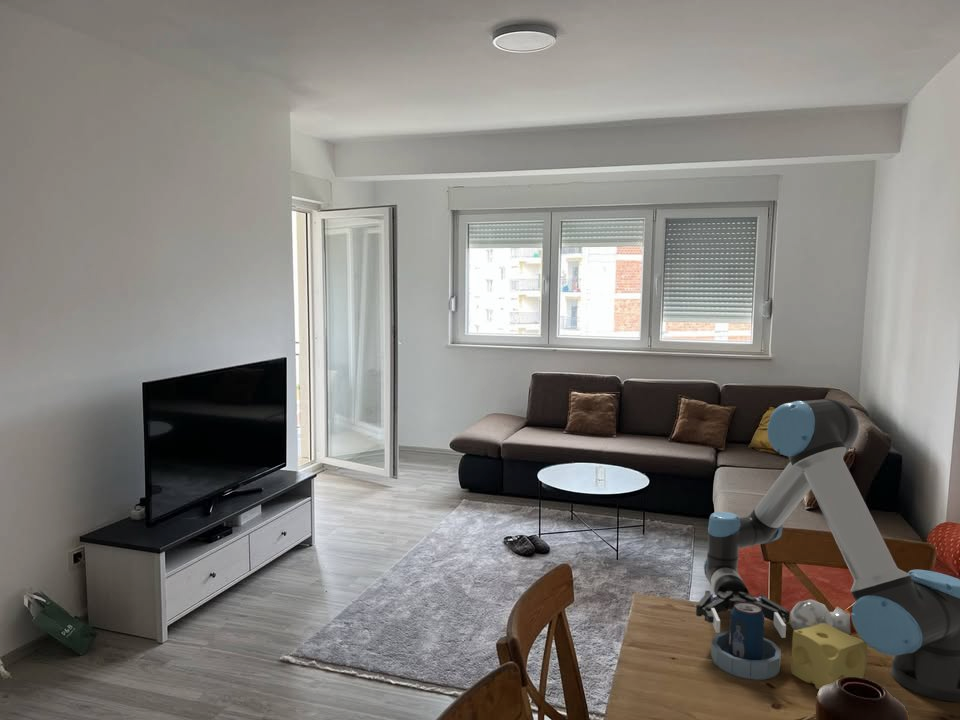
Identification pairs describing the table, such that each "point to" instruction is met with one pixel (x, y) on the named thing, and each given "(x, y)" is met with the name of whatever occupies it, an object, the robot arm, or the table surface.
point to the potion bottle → (820, 617)
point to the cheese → (826, 655)
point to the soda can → (746, 631)
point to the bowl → (743, 667)
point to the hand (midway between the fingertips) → (750, 629)
